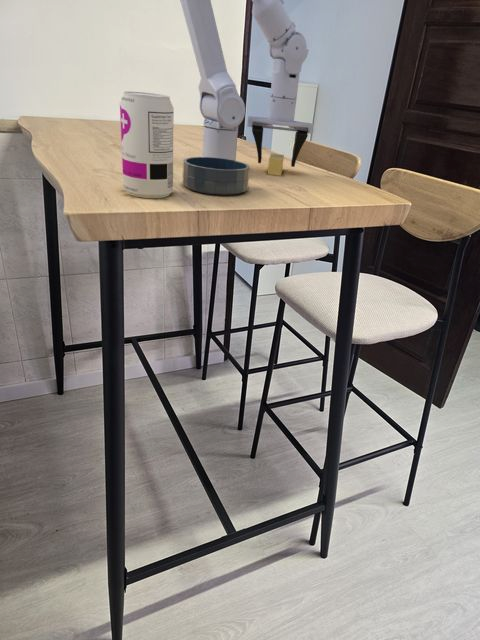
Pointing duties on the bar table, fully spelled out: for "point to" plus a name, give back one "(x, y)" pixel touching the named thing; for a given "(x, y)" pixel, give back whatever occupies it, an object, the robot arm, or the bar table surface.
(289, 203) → the bar table surface
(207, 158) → the bowl
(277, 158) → the butter
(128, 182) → the supplement can
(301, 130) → the robot arm
